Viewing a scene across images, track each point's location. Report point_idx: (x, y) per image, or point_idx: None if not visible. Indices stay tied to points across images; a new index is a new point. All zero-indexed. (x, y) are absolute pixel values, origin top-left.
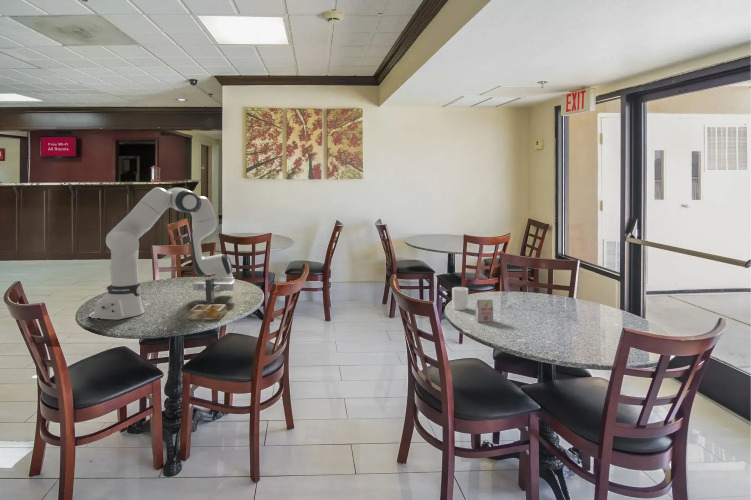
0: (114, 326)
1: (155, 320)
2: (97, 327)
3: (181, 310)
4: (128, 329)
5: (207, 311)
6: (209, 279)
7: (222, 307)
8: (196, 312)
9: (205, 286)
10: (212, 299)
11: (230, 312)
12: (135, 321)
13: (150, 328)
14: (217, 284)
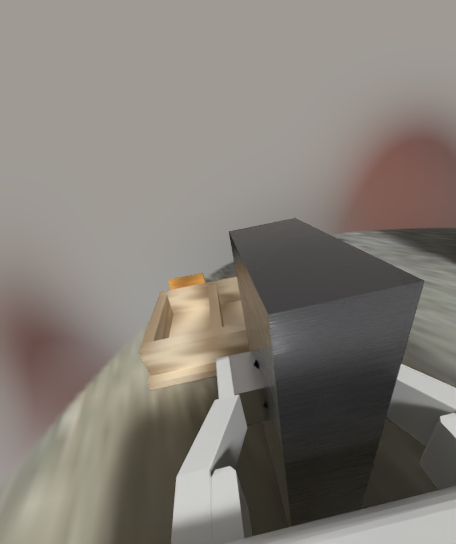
0: (395, 236)
1: None
2: (421, 228)
3: (417, 362)
4: (342, 238)
5: (201, 283)
6: (259, 234)
7: (154, 315)
8: None
9: None
10: (266, 432)
11: (133, 386)
12: (398, 255)
13: None
14: (234, 537)
